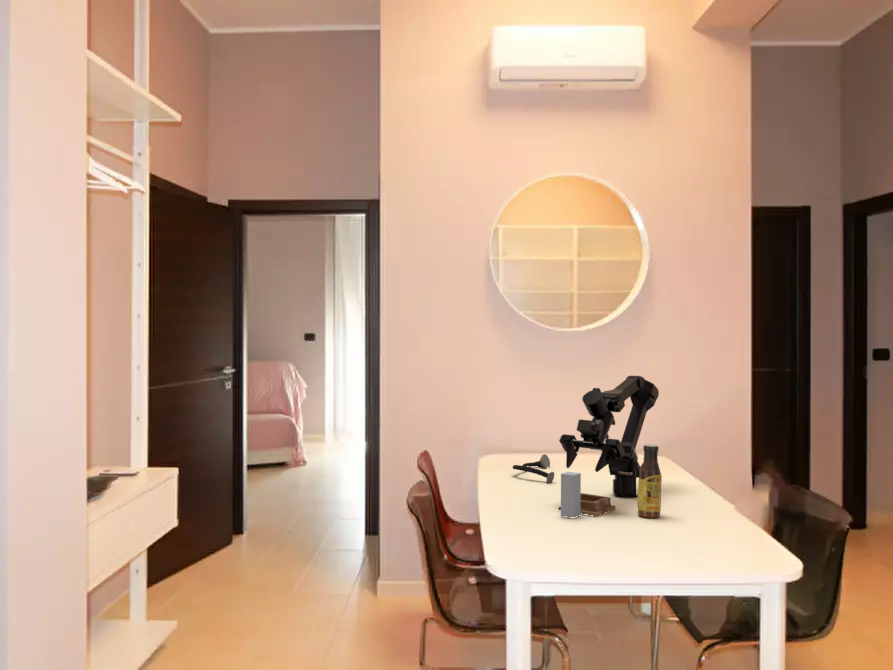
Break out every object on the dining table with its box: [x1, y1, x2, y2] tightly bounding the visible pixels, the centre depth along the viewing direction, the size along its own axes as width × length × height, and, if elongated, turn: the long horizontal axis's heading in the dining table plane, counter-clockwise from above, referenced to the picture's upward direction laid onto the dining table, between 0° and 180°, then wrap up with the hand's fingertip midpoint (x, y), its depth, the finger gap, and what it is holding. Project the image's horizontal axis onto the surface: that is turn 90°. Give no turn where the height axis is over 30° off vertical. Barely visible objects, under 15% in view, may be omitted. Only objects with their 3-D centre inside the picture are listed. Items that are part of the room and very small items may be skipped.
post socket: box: [557, 492, 616, 517], centre depth 225 cm, size 12×12×4 cm
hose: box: [512, 454, 555, 484], centre depth 279 cm, size 34×14×6 cm, turn 175°
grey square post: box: [560, 471, 582, 517], centre depth 217 cm, size 4×4×12 cm
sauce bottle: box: [637, 444, 663, 519], centre depth 218 cm, size 6×6×20 cm
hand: (581, 469), depth 222 cm, fingers open, 9 cm apart
